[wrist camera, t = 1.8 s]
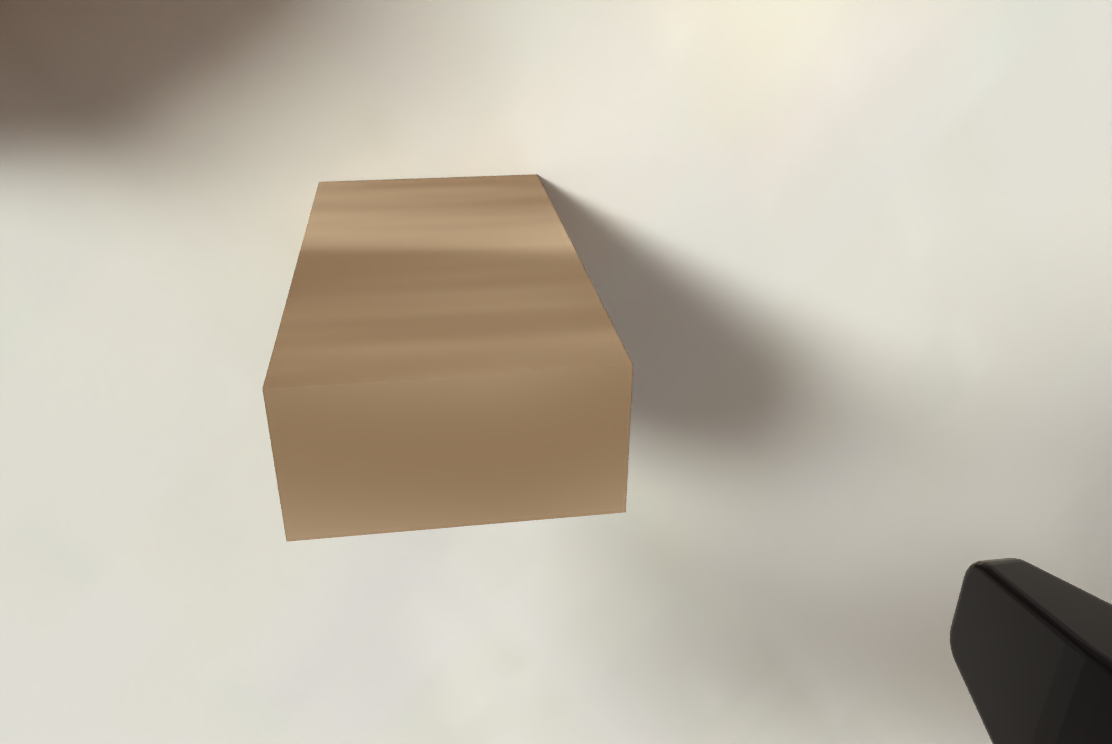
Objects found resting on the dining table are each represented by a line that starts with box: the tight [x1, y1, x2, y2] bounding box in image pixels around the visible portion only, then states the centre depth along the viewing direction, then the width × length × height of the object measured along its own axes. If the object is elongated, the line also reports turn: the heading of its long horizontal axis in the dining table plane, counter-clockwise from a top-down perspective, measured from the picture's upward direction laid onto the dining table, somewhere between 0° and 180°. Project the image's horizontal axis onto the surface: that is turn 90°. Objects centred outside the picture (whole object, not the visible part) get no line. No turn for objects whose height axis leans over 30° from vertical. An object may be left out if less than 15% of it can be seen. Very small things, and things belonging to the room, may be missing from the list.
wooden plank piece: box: [263, 175, 633, 541], centre depth 14 cm, size 2×4×8 cm, turn 89°
